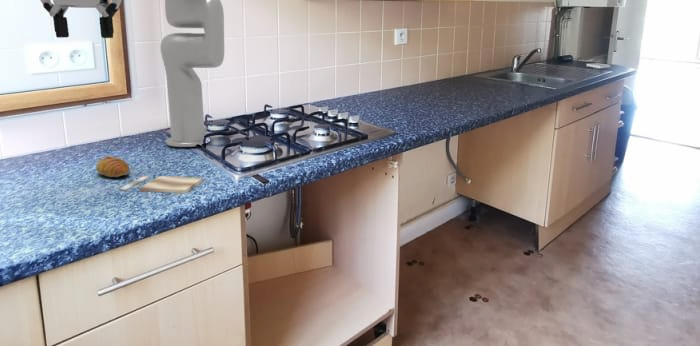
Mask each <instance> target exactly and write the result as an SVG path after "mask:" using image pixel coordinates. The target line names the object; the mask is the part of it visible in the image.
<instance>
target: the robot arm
mask: <svg viewBox="0 0 700 346" xmlns="http://www.w3.org/2000/svg"><path fill="white" fill-rule="evenodd" d="M39 1H40V3H41V4H42V7H43V8H44V10H46V11H47V13H48V14H49V16H50V17H52V20H53V27H54V33H55V37H56V38H59V39H60V38H63V39H64V38H69V36H70V34H69V32H70V31H69V27H68V26H69V24H68V18H67V17H66V16H65V14H66V12H67V11H68V9H69V8H79V9H80V8H84V9H85V8H87V9H88V8H89V9H92V8H95V9H96V10H97V11H98V12H99V14H100V15H101V16H99V18H98V19H99V27H100V37H101V38H102V39H113V38H114V32H115V31H114V22H113V18H114V17H115V15H116V13H117V12H118V11H119V9H120V6H121V3H122V0H52V1H51V0H39ZM164 8H165V9H164V10H165V11H164V13H165V17H166V18H165V19H166V21H167V23H168V24H169V26H171V27H173V28H178V29H203V31H204V33H201V32H198V33H194V32H174V33H173V32H172V33H169V34H167V35H165V36H164V37H163V38H162V40H161V42H160V47H159V48H160V54H161V58H162V62H163V66H164V72H165V76H166V86H167V98H168V99H167V100H168V111H169V124H170V126H169V127H170V135H171V136H170V137H169V138H167V139H165V142H166V145H167V146H171V147H176V148H183V147H184V148H187V147H188V148H190V147H191V148H193V147H197V146H196V145H197V144H203V138H204V136H206V131H207V130H208V126H207V125H206V124H205V120H204V119H205V117H204V116H205V115H204V102H203V100H204V99H203V87H202V81H201V79H200V77H199V76H198V74H197V73H196V71H195V70H194V68H196V69H197V68H199V69H214V68H218V67H220V66H221V65H222V64H223V62H224V60H225V14H224V8H223V3H222V1H221V0H164ZM206 141H207V142H208V140H206Z"/></svg>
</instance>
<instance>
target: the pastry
mask: <svg viewBox="0 0 700 346" xmlns="http://www.w3.org/2000/svg"><path fill="white" fill-rule="evenodd" d="M95 169H96V171H97V173H98V174H100V175H102V176H105V177H109V178H113V177H114V178H118V177H121V176H128V175H129V173H130V172H131V171H130V166H129V165H128V163H127V162H126V161H125V160H124V159H121V158H119V157H117V158H116V157H113V156H105V157H103V158H102V159H100V160H99V161H97V163H96V166H95Z"/></svg>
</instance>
